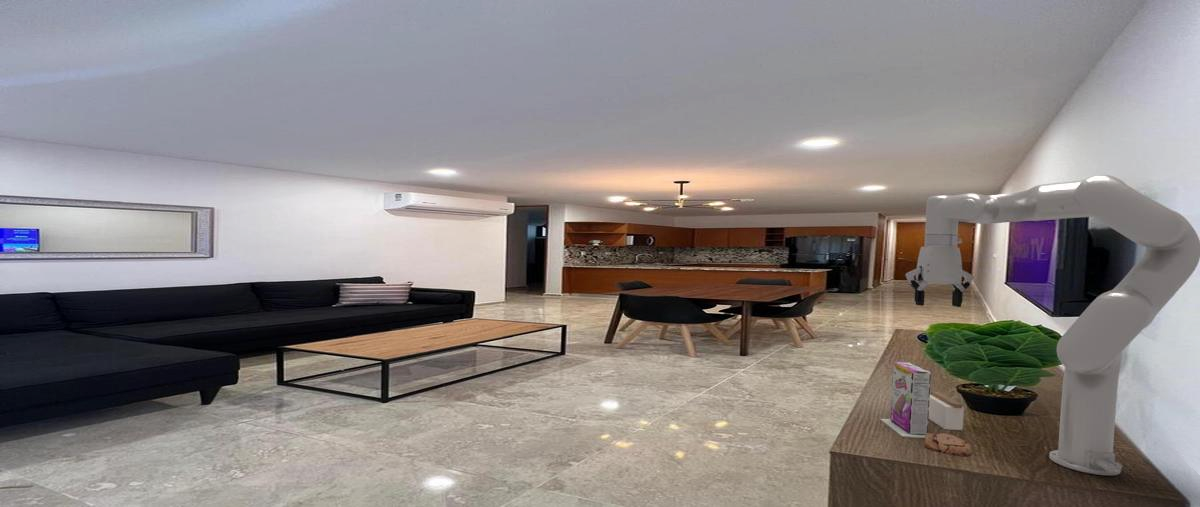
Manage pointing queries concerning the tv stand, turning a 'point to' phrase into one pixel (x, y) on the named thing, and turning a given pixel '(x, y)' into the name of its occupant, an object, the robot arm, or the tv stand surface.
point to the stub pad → (900, 429)
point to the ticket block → (945, 411)
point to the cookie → (947, 444)
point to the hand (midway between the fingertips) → (938, 305)
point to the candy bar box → (910, 398)
